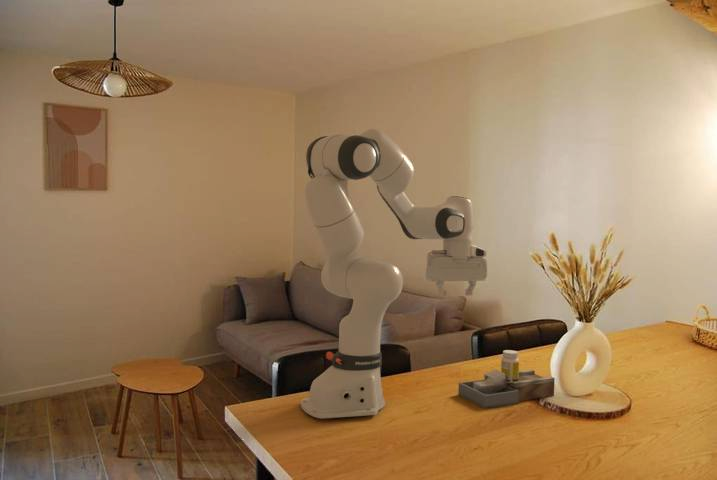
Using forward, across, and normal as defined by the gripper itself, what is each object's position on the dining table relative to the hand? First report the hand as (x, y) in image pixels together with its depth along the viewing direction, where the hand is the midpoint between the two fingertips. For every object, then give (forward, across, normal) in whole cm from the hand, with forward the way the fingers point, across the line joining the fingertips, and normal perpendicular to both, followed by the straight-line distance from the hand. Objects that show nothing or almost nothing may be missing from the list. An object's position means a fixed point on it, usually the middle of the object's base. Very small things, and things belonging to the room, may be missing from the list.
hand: (455, 295), depth 164 cm
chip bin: (+26, -1, -18) cm, 32 cm away
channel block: (+26, +12, -18) cm, 34 cm away
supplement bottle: (+22, +7, -18) cm, 29 cm away
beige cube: (+24, 0, -18) cm, 30 cm away
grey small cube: (+23, +2, -18) cm, 29 cm away
